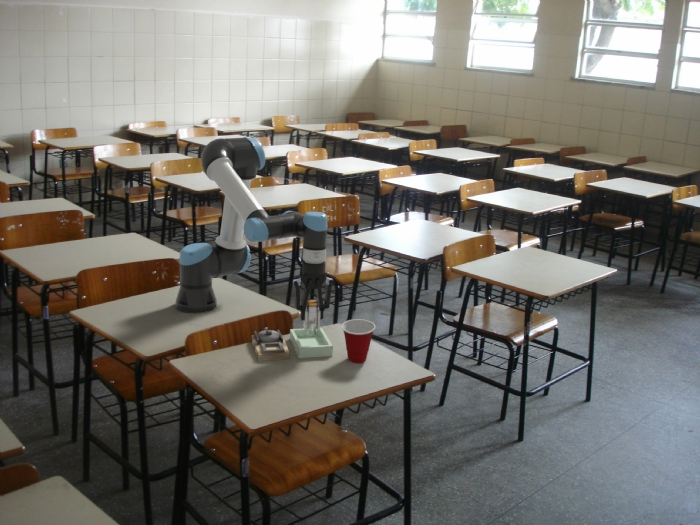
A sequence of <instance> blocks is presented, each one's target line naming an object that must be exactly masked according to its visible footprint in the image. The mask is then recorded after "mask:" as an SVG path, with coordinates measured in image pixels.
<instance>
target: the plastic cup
mask: <svg viewBox="0 0 700 525" xmlns="http://www.w3.org/2000/svg"><path fill="white" fill-rule="evenodd" d="M341 330H343V334H344V340H345V341H344V342H345V347H346V353H347V355H346V356H347V360H348V361H349V362H351V363H353V364H362V363H365V362H366V361H367V357H368V354H369V351H370V346H371V342H372V337H373V334H374V331H375V330H376V324H375V323H374V322H373V321H370V320H367V319H363V318H362V319H360V318H354V319H348V320H347V321H346V320H345V321H344V322H343V323H342V324H341Z"/></svg>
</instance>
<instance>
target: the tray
mask: <svg viewBox="0 0 700 525" xmlns="http://www.w3.org/2000/svg"><path fill="white" fill-rule="evenodd" d="M289 340H290V343H291V344H292V346H293V349H294V350H295V353H296V355H297V357H298V358H299V359H306V358H317V357H318V358H323V357H333V352H334V351H333V350H334V346H333V344H332V342H331V340H330V339H329V337H328V336H327V333H326V332H325V331H324V329H323V327H320V330H317V334H316V335H314V336H309V335H306V331H305V330H304V328H292V329H291V328H290V330H289Z"/></svg>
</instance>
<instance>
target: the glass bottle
mask: <svg viewBox="0 0 700 525" xmlns="http://www.w3.org/2000/svg"><path fill="white" fill-rule="evenodd" d="M318 308H319V305H318V300H315V299H308V302H307V306H306V310H307V311H308V320H307V331H306V335H309V336H314V335H316V334H317V315H318Z"/></svg>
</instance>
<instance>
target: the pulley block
mask: <svg viewBox="0 0 700 525" xmlns="http://www.w3.org/2000/svg"><path fill="white" fill-rule="evenodd" d="M251 343H252V345H253V349H254V351H255V355H256V357H257V359H258V360H257V361H259V362H260V361H274V360H290V359H291V352H290V350H289V348H288V346H287V343H286V341H285V338H284V337H283V335H282V333H281V330H280V329H277V331H276V330H273V329H272V330H271V329H266V330H261V331H259V332H257V330H254V331H253V335H251Z"/></svg>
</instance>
